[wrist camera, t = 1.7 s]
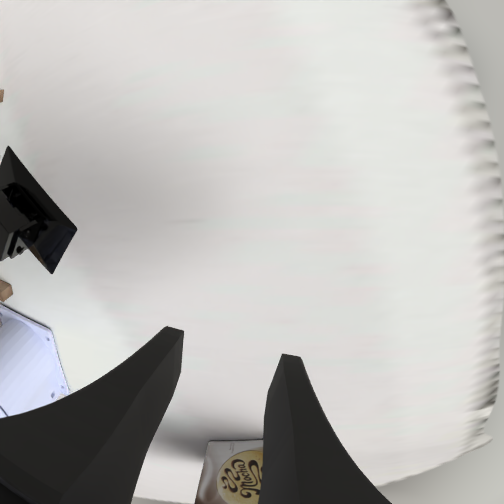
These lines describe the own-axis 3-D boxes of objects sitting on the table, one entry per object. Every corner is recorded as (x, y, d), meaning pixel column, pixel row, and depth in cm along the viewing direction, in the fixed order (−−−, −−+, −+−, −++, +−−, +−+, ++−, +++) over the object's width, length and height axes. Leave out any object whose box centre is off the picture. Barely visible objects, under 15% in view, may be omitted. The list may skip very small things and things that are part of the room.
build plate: (-16, 192, 18) (-52, 208, 14) (9, 123, 16) (-34, 131, 12) (66, 291, 21) (33, 322, 17) (104, 231, 19) (64, 260, 14)
